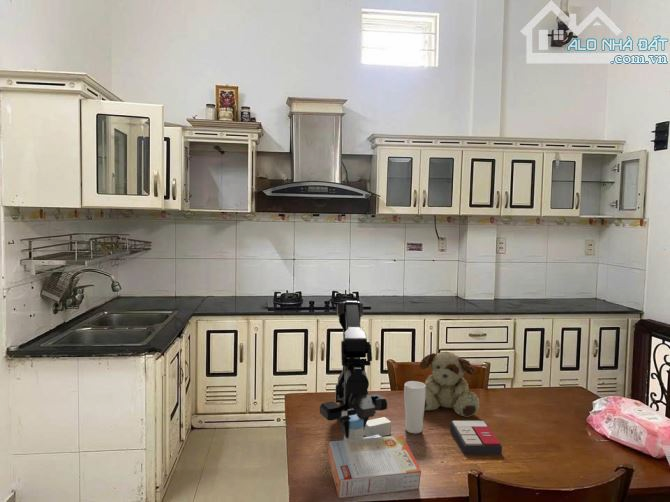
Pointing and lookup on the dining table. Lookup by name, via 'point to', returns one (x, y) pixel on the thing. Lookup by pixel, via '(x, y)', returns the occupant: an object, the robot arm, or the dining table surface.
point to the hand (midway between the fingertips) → (353, 436)
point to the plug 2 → (377, 427)
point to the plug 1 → (355, 428)
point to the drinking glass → (414, 405)
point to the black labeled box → (475, 438)
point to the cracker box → (373, 466)
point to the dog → (449, 384)
